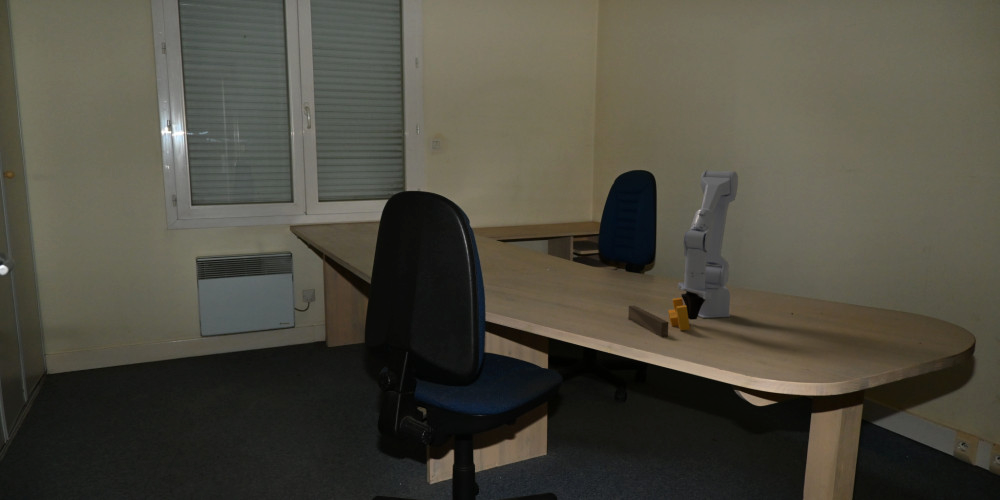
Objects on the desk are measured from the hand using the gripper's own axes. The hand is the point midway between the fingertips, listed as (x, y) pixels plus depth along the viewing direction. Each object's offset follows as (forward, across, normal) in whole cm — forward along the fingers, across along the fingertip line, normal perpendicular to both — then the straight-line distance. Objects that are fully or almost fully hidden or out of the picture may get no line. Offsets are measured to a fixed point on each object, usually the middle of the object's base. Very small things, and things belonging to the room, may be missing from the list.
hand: (692, 318), depth 191 cm
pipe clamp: (+2, 0, -4) cm, 4 cm away
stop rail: (+2, -1, -14) cm, 14 cm away
